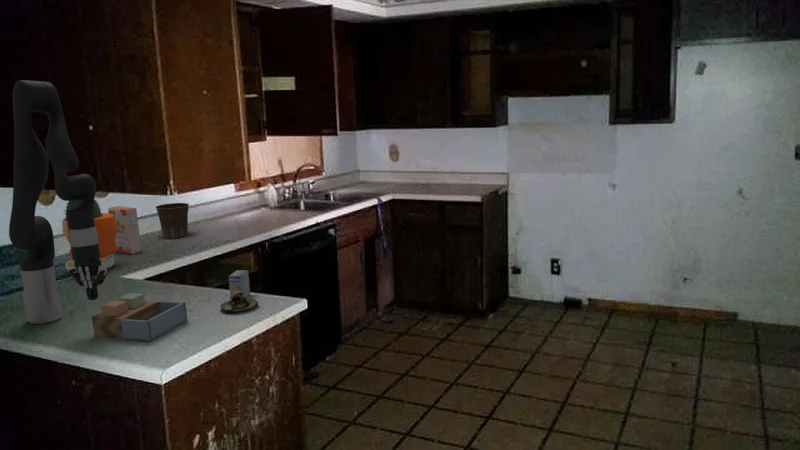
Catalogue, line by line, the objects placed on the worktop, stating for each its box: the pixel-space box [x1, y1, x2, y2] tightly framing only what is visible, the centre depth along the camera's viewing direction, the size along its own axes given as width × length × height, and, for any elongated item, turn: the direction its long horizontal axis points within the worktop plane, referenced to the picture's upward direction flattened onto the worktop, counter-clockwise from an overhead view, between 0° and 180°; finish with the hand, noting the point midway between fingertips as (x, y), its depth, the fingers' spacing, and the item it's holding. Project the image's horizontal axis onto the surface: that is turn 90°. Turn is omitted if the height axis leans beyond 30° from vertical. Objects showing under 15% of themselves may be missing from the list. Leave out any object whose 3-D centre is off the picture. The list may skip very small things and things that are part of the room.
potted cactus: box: [61, 193, 117, 270], centre depth 273 cm, size 22×22×35 cm
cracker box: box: [107, 205, 143, 255], centre depth 302 cm, size 14×6×21 cm, turn 55°
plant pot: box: [155, 202, 190, 240], centre depth 334 cm, size 16×16×16 cm
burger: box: [220, 289, 259, 315], centre depth 212 cm, size 12×12×8 cm
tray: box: [121, 300, 188, 343], centre depth 195 cm, size 9×18×6 cm, turn 163°
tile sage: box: [118, 292, 146, 308], centre depth 200 cm, size 5×5×3 cm
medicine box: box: [228, 269, 251, 299], centre depth 224 cm, size 8×4×9 cm, turn 175°
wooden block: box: [91, 300, 160, 339], centre depth 198 cm, size 11×16×6 cm
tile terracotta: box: [100, 300, 128, 317], centre depth 193 cm, size 5×5×3 cm
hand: (93, 299), depth 195 cm, fingers closed
